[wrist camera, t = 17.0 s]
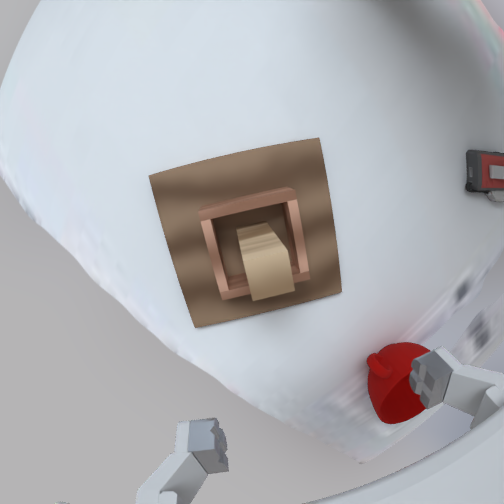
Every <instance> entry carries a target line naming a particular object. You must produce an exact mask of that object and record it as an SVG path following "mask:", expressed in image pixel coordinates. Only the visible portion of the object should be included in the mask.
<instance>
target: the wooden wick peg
mask: <svg viewBox="0 0 504 504" xmlns="http://www.w3.org/2000/svg"><path fill="white" fill-rule="evenodd" d="M236 230H237V235H238V240H239V244H240V249H241V254H242V258H243V263H244V267H245V271H246V275H247V279H248V283H249V287H250V292H251V296H252V300H253V301H256V300H260V299H264V298H268V297H272V296H276V295H280V294H284V293H288V292H292V291H295V288H294V282H293V277H292V271H291V265H290V260H289V255H288V250H287V249H286V247H285V246H284V245H283V243H282V242H281V241H280V239H279V238H278V237H277V235H276V234H275V233H274V231H273V230H272V229H271V227H270V226H269V225H268V223H267V222H266V221H261V222H257V223H253V224H249V225H244V226H240V227H236Z"/></svg>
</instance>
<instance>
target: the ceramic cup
mask: <svg viewBox="0 0 504 504" xmlns="http://www.w3.org/2000/svg"><path fill="white" fill-rule="evenodd" d="M428 352H430V350H428V349H427V348H425V347H423V346H421V345H419V344H415V343H409V342H404V343H397V344H390V345H388V346H386V347H384V348H383V349H382V350H380V351H379V352H378V353H377V354H376V353H373V354H371V355H370V356H369V357H368V358H367V364H368V366H369V367H370V370H369V374H368V391H369V395H370V399H371V402H372V404H373V407H374V409H375V411H376V413H377V415H378V417H379V418H380V420H381V421H382V422H384V423H387V424H396V423H401V422H404V421H407V420H409V419H411V418H413V417H415V416H416V415H418V414H419V413H421V412H422V411H423V410H425V409H426V407H425V406H424V405H423V403H422V402H421V401H420V395H419V394H416V393H414V391H413V390H412V388H411V386H410V382H409V376H410V373H411V372H412V370H413V368H412V367H411V363H412V361H413V359H415V358H417V357H420V356H422V355H424V354H426V353H428Z"/></svg>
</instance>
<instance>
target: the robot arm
mask: <svg viewBox="0 0 504 504" xmlns="http://www.w3.org/2000/svg"><path fill="white" fill-rule="evenodd" d="M411 367H412V368H413V370H412V372H411V373H410V376H409V382H410V386H411V388H412V390H413V391H414V393H416V394H419V395H420V401H421V402H422V403H423V405H424V406H425V407H426V409H429V408H431V407H433V406H435V405H437V404H439V403H441V402H443V403H445V404H448V405H450V406H452V407H454V408H456V409H459V410H461V411H463V412H465V413H468V414H470V415H472V416H475V417H474V419H473V421H472V423H471V425H470V428H471V430H470V431H469V432H467V433H465V434H464V435H462V436H461V437H459V438H458V439H456V440H454V441H453V442H451V443H450V444H448V445H446V446H445V447H443V448H441V449H440V450H438V451H436V452H434V453H432V454H431V455H429V456H427V457H425V458H423V459H421V460H420V461H417V462H415V463H413V464H411V465H409V466H407V467H405V468H403V469H401V470H399V471H397V472H395V473H392V474H390V475H388V476H386V477H383V478H381V479H378V480H376V481H373V482H371V483H368V484H365V485H363V486H360V487H357V488H355V489H352V490H349V491H346V492H343V493H340V494H336V495H333V496H330V497H326V498H323V499H319V500H315V501H312V502H308V503H304V504H504V373H500V372H495V371H491V370H487V369H482V368H478V367H474V366H470V365H466V364H465V365H462V364H461V363H460V362H459V361H458V360H457V359H456V358H455V357H454V356H453V355H452V354H451V353H450V352H449V351H448V350H446V349H445V348H444V347H442V346H440V347H439V348H436V349H434V350H432V351H430V352H428V353H426V354H424V355H422V356H420V357H417V358H415V359H413V361H412V363H411ZM226 451H227V442H226V437H225V434H224V432H223V430H222V429H221V428H219V422H218V420H217V418H209V419H200V420H191V421H181V422H179V423H178V425H177V432H176V440H175V450H174V453H171V454H170V455H169V456H168V457H167V458H166V459H165V461H164V462H163V463H162V464H161V465H160V466H159V467H158V468H157V469H156V471H155V472H154V473H153V474H152V475H151V476H150V477H149V478H148V479H147V480H146V481H145V482H144V484H143V485H142V486H141V487H140V488H139V489H138V492H137V498H136V504H190V503H191V502H192V500H193V498H194V497H195V495H196V494H197V492H198V490H199V489H200V487H201V486H202V484H203V482H204V481H205V479H206V478H207V476H208V474H212V473H219V472H227V471H229V470H228V458H227V456H226V454H225V452H226ZM54 504H69V503H65V502H56V503H54Z"/></svg>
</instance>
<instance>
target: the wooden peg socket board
mask: <svg viewBox="0 0 504 504" xmlns="http://www.w3.org/2000/svg"><path fill="white" fill-rule="evenodd" d="M149 179H150V183H151V187H152V191H153V195H154V198H155V202H156V206H157V210H158V213H159V217H160V221H161V224H162V228H163V231H164V235H165V238H166V241H167V245H168V248H169V251H170V255H171V258H172V261H173V264H174V268H175V271H176V274H177V277H178V280H179V283H180V286H181V289H182V292H183V295H184V298H185V301H186V304H187V307H188V310H189V313H190V316H191V318H192V321H193V324H194V327H195V328H197V327H202V326H207V325H212V324H216V323H221V322H225V321H230V320H234V319H239V318H243V317H248V316H252V315H256V314H260V313H264V312H268V311H273V310H277V309H281V308H285V307H288V306H292V305H296V304H300V303H304V302H308V301H311V300H315V299H319V298H322V297H326V296H329V295H333V294H337V293H340V292H342V287H341V276H340V267H339V258H338V249H337V241H336V234H335V226H334V219H333V212H332V206H331V199H330V193H329V187H328V181H327V176H326V170H325V165H324V159H323V154H322V149H321V144H320V139H319V138H313V139H307V140H300V141H294V142H289V143H283V144H277V145H272V146H267V147H261V148H256V149H252V150H247V151H242V152H237V153H233V154H228V155H224V156H220V157H216V158H211V159H207V160H203V161H199V162H195V163H192V164H188V165H184V166H180V167H177V168H173V169H170V170H166V171H163V172H159V173H156V174H152V175H149ZM261 221H266V222H267V223H268V225H269V226H270V227H271V229H272V230H273V231H274V233H275V234H276V235H277V237H278V238H279V239H280V241H281V242H282V243H283V245H284V246H285V247H286V249H287V250H288V255H289V260H290V265H291V271H292V277H293V282H294V288H295V291H292V292H288V293H284V294H280V295H276V296H272V297H268V298H264V299H260V300H256V301H253V300H252V296H251V292H250V287H249V283H248V279H247V275H246V271H245V267H244V263H243V258H242V254H241V249H240V244H239V240H238V235H237V230H236V227H240V226H244V225H249V224H253V223H257V222H261Z"/></svg>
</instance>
